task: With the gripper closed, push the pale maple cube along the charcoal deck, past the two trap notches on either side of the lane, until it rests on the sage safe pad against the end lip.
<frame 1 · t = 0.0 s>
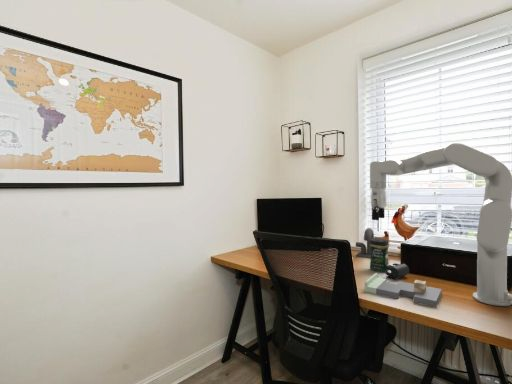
hand: (378, 218, 147), 31 cm above the table, fingers open, 9 cm apart
dark grey motor: (397, 278, 150), on the table
coffee jar: (379, 270, 162), on the table
maple block: (420, 291, 125), point 2 cm above the table, touching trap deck
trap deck: (402, 293, 129), on the table
faucet: (369, 258, 188), on the table
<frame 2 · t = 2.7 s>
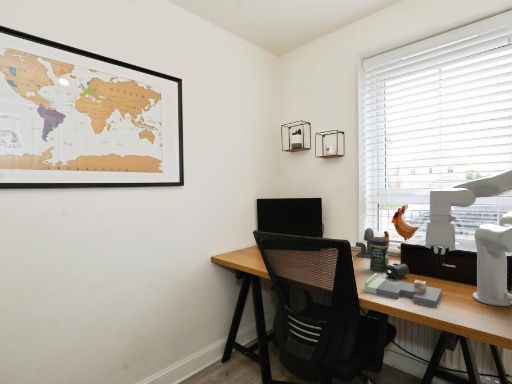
hand: (439, 262, 119), 16 cm above the table, fingers closed
nothing on the table moved.
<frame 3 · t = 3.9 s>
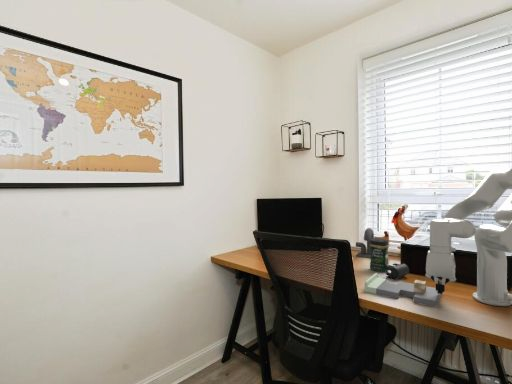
hand: (440, 292, 120), 3 cm above the table, fingers closed
nothing on the table moved.
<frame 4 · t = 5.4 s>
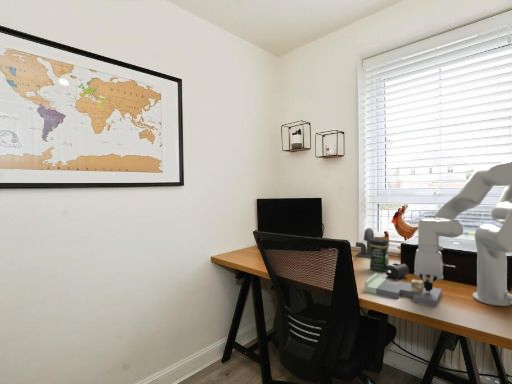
hand: (428, 290, 122), 3 cm above the table, fingers closed
maple block: (417, 290, 125), point 3 cm above the table, touching gripper, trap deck
everything else where it was.
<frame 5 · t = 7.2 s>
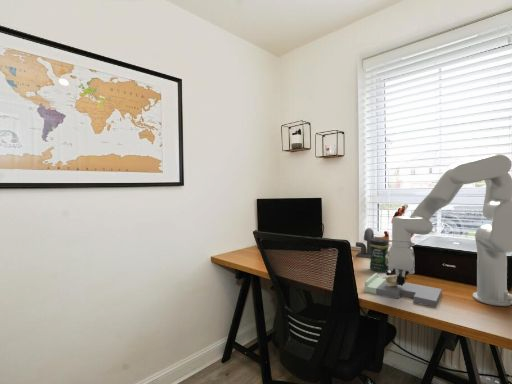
hand: (400, 284, 129), 4 cm above the table, fingers closed
maple block: (393, 284, 131), point 3 cm above the table, tilted 16°, touching gripper, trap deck
everything else where it was.
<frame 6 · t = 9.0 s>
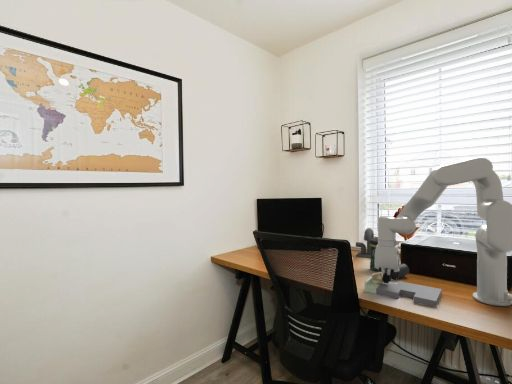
hand: (386, 282, 133), 4 cm above the table, fingers closed
maple block: (379, 282, 135), point 3 cm above the table, tilted 19°, touching gripper, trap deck
everything else where it was.
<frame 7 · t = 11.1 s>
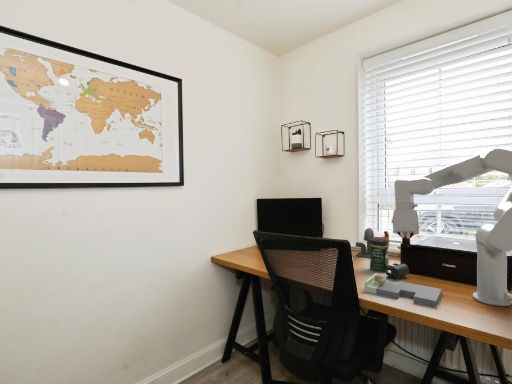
hand: (406, 246, 130), 21 cm above the table, fingers closed
maple block: (379, 283, 135), point 2 cm above the table, touching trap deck
everything else where it was.
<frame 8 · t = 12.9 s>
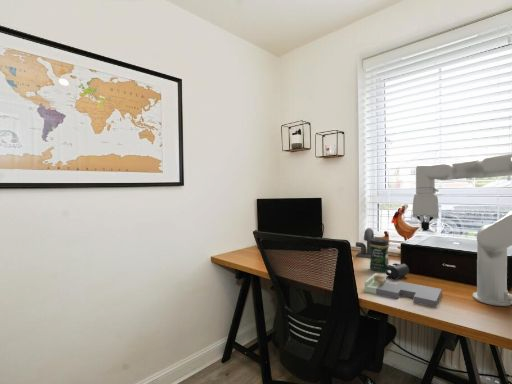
hand: (425, 230, 134), 27 cm above the table, fingers closed
nothing on the table moved.
at the end: maple block 0.4 cm from the target spot, point 2.5 cm above the table; maple block touching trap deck; maple block tilted 0° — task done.
